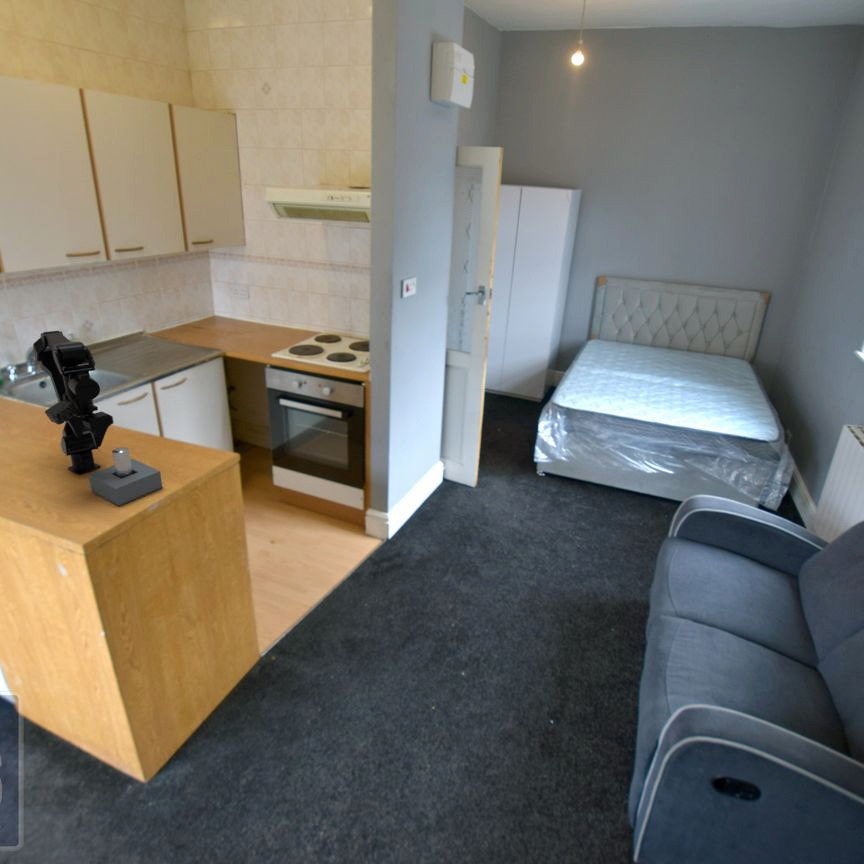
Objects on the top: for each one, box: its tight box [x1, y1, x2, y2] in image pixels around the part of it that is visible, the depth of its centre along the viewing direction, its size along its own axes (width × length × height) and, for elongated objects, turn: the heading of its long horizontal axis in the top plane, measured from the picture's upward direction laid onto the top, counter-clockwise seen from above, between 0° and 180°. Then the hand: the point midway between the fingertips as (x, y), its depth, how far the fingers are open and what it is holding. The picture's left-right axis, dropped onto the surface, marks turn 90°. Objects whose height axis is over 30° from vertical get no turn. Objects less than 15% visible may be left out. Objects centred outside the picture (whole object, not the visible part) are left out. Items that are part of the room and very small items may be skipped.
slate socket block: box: [88, 458, 163, 508], centre depth 162 cm, size 13×13×6 cm
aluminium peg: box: [111, 446, 133, 479], centre depth 160 cm, size 4×4×12 cm
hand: (88, 442), depth 160 cm, fingers open, 9 cm apart
